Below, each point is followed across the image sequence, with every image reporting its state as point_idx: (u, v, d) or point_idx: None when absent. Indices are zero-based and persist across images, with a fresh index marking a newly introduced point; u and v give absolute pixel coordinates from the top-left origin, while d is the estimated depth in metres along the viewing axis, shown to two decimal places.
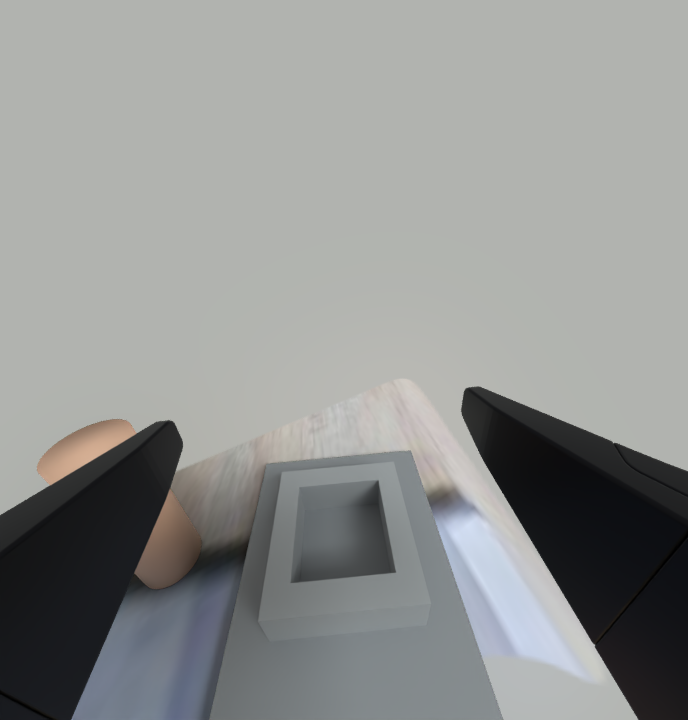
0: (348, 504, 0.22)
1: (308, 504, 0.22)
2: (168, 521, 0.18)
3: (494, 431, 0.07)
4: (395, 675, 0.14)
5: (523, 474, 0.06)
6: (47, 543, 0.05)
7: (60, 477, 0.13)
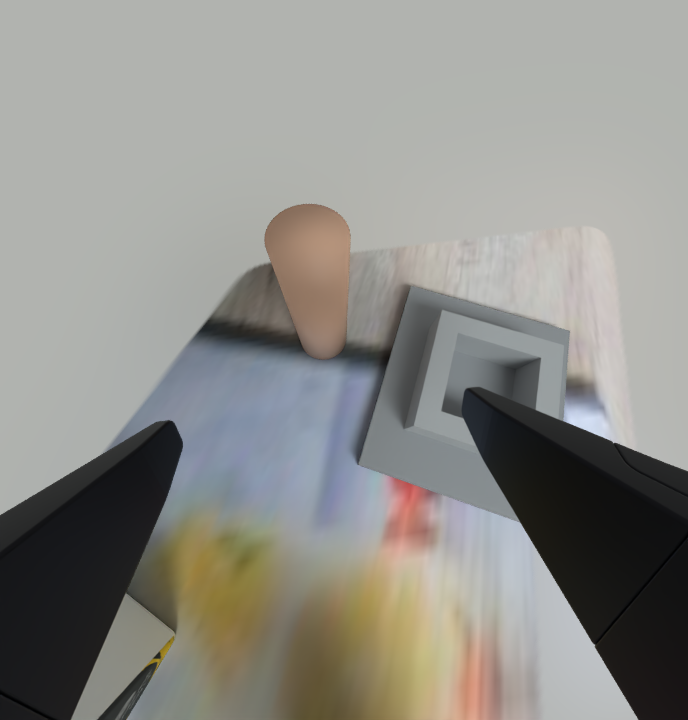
0: (487, 359, 0.22)
1: None
2: (342, 322, 0.19)
3: (494, 431, 0.07)
4: (490, 484, 0.19)
5: (523, 474, 0.06)
6: (47, 543, 0.05)
7: (295, 272, 0.12)
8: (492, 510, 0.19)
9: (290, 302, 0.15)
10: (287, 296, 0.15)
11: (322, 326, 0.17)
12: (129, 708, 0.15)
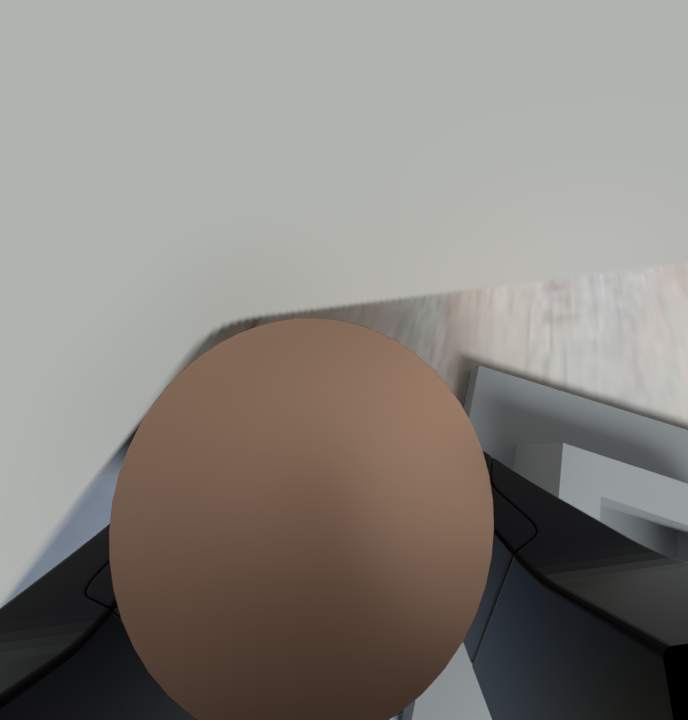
0: (628, 513, 0.12)
1: None
2: None
3: None
4: None
5: None
6: None
7: None
8: None
9: None
10: None
11: None
12: None
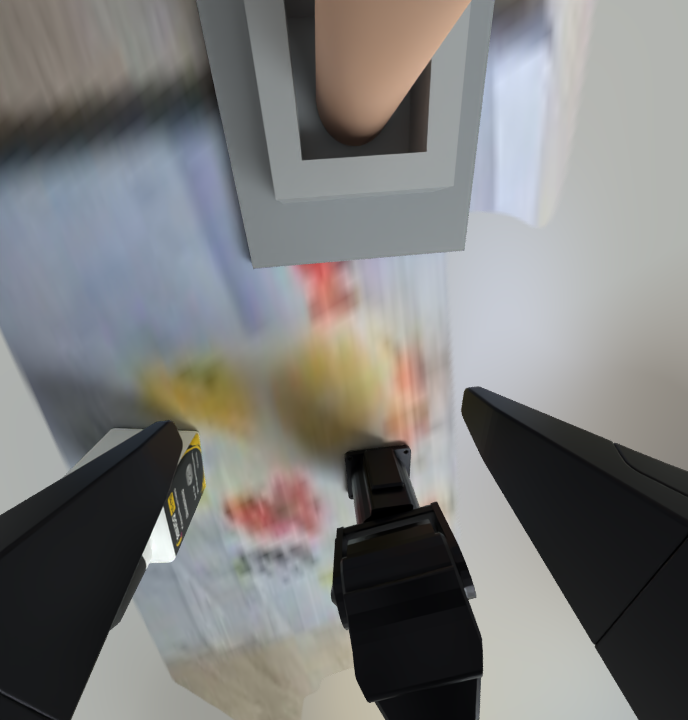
0: None
1: (294, 5, 0.12)
2: None
3: (494, 431, 0.07)
4: (395, 227, 0.17)
5: (523, 474, 0.06)
6: (47, 543, 0.05)
7: None
8: (401, 253, 0.18)
9: (341, 36, 0.07)
10: (339, 19, 0.07)
11: (384, 99, 0.09)
12: (197, 467, 0.24)
